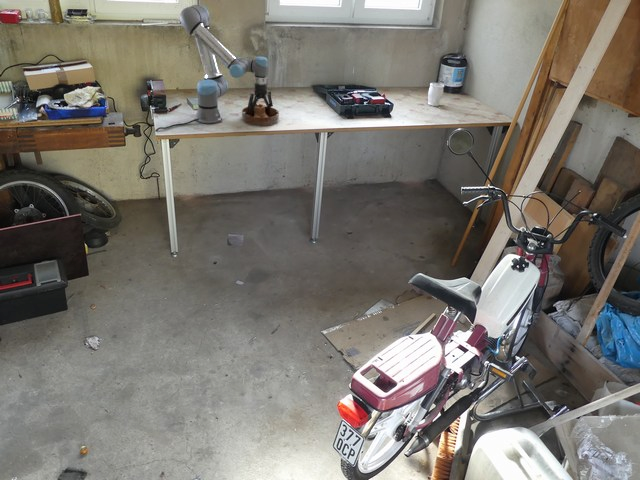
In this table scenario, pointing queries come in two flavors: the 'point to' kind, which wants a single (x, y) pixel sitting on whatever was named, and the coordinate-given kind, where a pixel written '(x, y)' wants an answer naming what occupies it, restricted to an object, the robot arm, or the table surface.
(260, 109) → the bracket
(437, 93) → the jar
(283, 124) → the table surface
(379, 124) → the table surface
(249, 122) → the brown shallow bowl
